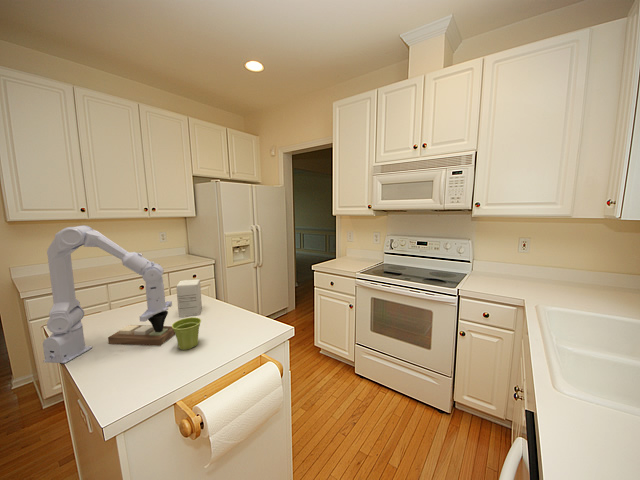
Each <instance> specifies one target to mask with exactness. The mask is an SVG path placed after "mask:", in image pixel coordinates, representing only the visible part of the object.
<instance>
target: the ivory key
mask: <svg viewBox="0 0 640 480" xmlns="http://www.w3.org/2000/svg"><path fill="white" fill-rule="evenodd" d="M152 330H154V328H153V326H152V325H146V326H141V327H140V328H138V329H136V330H135V331H134V335H146V334H148V333H149V332H151V331H152Z"/></svg>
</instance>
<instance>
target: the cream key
mask: <svg viewBox="0 0 640 480" xmlns="http://www.w3.org/2000/svg"><path fill="white" fill-rule="evenodd" d="M137 325H138V324H127V325H126V326H124V327H122V328H121V329H119V330H118V331H119V334H127V335H130V334H132V333H134V331H135V330H136V329H138V328H139V326H137Z"/></svg>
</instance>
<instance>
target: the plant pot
mask: <svg viewBox="0 0 640 480" xmlns="http://www.w3.org/2000/svg"><path fill="white" fill-rule="evenodd" d="M201 322H202V319H201V318H199V317H196V316H190V317H184V318H181V319H179V320H177V321H175V322H174V323H172V324H171V326H172V328H173V329H174V332H175V338H176V341H177V345H178V348H179V349H180V350H184V351H187V350H190V349H192V348H193V347H196V346H198V344H199V334H200V333H199V332H200V326H201Z"/></svg>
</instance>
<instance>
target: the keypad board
mask: <svg viewBox="0 0 640 480" xmlns="http://www.w3.org/2000/svg"><path fill="white" fill-rule="evenodd" d="M136 325H137V326H139V328H140V327H141V326H147V325H139V324H136ZM163 329H168V331H167V332H165V333H164V334H162V335H161V336H153V335H149V334H150V333H151V332H153V331H154V330H152V331H151V332H149V333H148V334H146V335H134V333H132V334H130V335H127V334H119V330H118V331H117V332H114V333H113V334H111V335H109V336H108V337H107V341H108V342H107V343H108V344H109V345H131V346H133V345H134V346H153V347H154V346H155V347H157V346H159V347H161V346H162V345H164V344H165V343H166V342H168V340H170V339H171V338H172V337H174V336H176V334H175V332H174V329H173V328H172V325H171V326H169V325H168V326H167V325H164V326H163Z"/></svg>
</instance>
